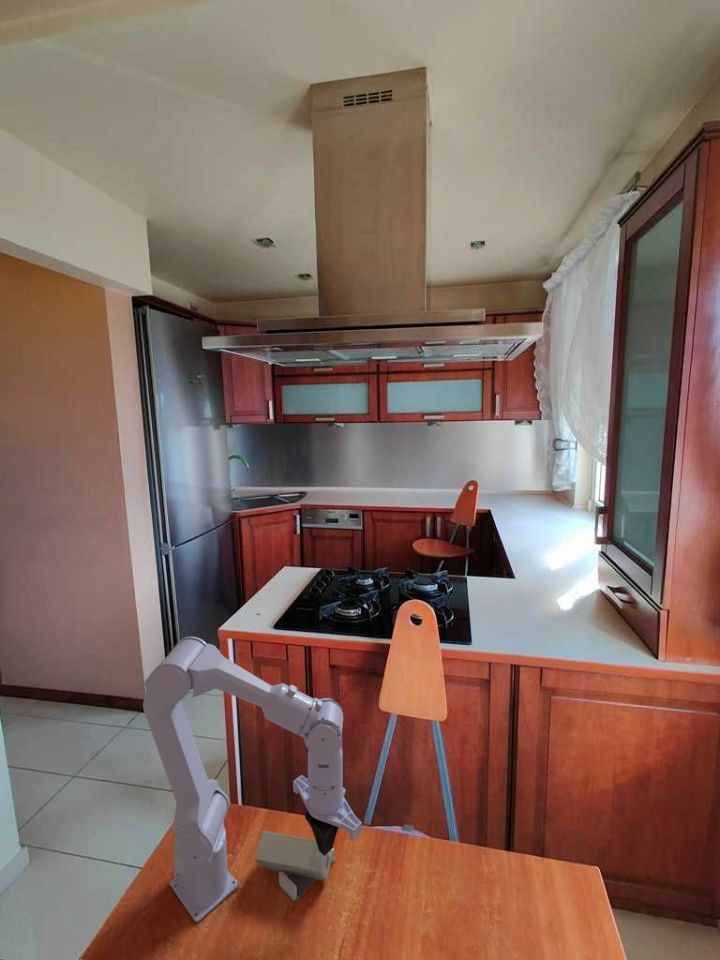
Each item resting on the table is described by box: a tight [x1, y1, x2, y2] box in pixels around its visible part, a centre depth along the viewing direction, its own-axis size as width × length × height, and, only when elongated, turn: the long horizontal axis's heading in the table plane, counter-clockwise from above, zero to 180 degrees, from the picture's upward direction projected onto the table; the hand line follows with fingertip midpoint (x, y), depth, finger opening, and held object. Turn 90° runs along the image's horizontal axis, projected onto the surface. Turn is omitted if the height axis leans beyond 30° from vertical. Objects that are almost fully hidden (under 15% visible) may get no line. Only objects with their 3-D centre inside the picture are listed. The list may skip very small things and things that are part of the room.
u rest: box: [278, 847, 336, 903], centre depth 81 cm, size 4×10×3 cm, turn 138°
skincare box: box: [254, 830, 332, 882], centre depth 80 cm, size 6×4×12 cm
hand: (326, 849), depth 77 cm, fingers closed
